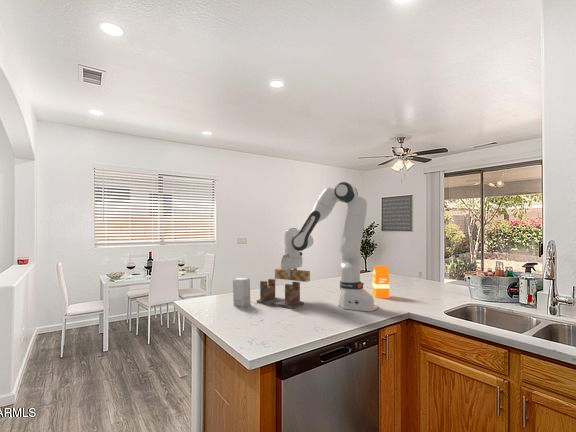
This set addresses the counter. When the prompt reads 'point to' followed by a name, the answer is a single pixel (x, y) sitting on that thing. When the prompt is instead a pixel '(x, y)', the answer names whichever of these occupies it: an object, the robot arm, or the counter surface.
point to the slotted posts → (289, 302)
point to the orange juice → (380, 282)
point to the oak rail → (293, 275)
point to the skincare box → (241, 291)
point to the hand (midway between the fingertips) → (292, 275)
